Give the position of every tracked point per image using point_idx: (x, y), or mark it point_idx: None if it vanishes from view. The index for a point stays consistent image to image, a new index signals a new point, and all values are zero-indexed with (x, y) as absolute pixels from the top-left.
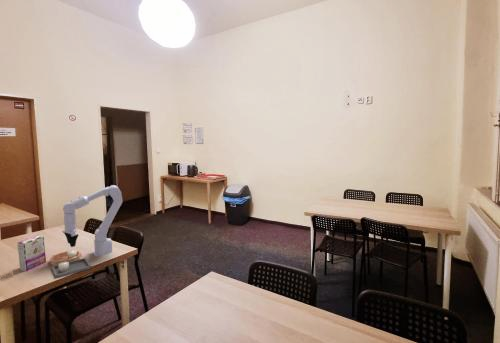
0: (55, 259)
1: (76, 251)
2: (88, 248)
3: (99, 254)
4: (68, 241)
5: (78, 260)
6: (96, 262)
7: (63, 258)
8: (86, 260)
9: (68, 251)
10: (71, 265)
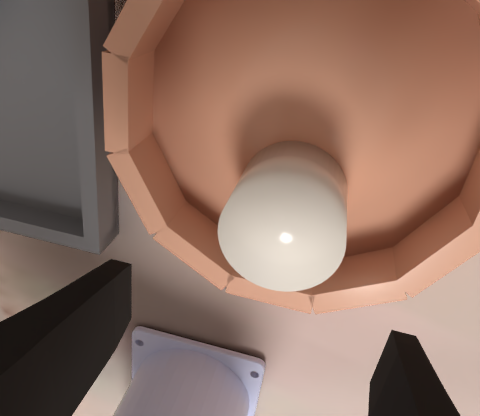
0: (461, 16)
1: (252, 276)
2: (468, 413)
3: (142, 362)
4: (394, 371)
5: (83, 184)
6: (18, 268)
7: (383, 114)
8: (14, 228)
9: (333, 214)
10: (52, 88)
